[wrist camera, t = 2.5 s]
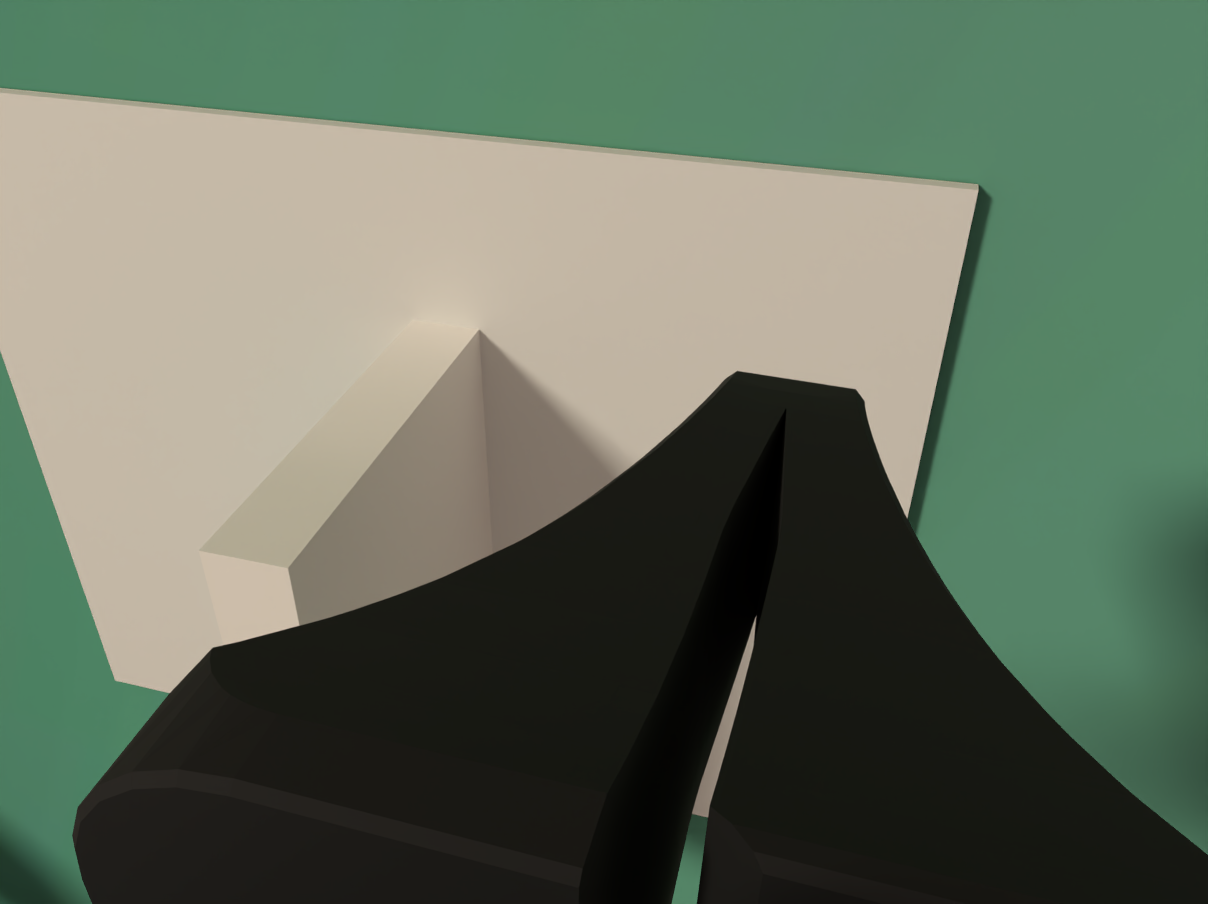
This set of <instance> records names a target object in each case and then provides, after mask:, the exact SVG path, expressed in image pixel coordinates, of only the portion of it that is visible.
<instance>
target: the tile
mask: <svg viewBox="0 0 1208 904" xmlns="http://www.w3.org/2000/svg"><path fill="white" fill-rule="evenodd" d="M199 554H200V558H201V562H202V565H203V569H204V573H205V577H206V581H207V585H208V588H209V592H210V596H211V600H212V604H213V608H214V611H215V615H216V619H217V623H218V627H219V631H220V634H221V638H222V642H223V645H226V644H231V643H235V642H240V641H243V640H247V639H251V638H255V637H258V636H262V635H266V634H270V633H274V632H277V631H281V630H285V629H289V628H292V627H296V626H300V625H304V624H308V623H311V622H315V621H319V620H323V619H326V618H329V617H333V616H336V615H339V614H342V613H345V612H349V611H352V610H355V609H358V608H361V607H364V606H366V605H369V604H372V603H375V602H378V601H381V600H384V599H387V598H390V597H393V596H396V595H398V594H401V593H403V592H406V591H409V590H411V589H414V588H416V587H419V586H421V585H424V584H427V583H429V582H432V581H434V580H437V579H439V578H442V577H444V576H446V575H448V574H451V573H453V572H455V571H457V570H459V569H461V568H463V567H465V566H468V565H470V564H472V563H474V562H476V561H478V560H480V559H482V558H485V557H487V556H489V555H491V554H493V549H492V533H491V516H490V500H489V483H488V467H487V450H486V434H485V417H484V401H483V384H482V368H481V351H480V335H479V329H474V328H467V327H460V326H452V325H445V324H438V323H431V322H424V321H417V320H412V321H411V322H410V323H409V325H408V326H407V327H406V328H405V329H404V330H403V331H402V332H401V333H400V334H399V335H398V336H397V337H396V339H395V340H394V341H393V342H392V343H391V344H390V345H389V346H388V347H387V348H386V349H385V350H384V351H383V353H382V354H381V355H380V356H379V357H378V358H377V359H376V360H375V361H374V362H373V363H372V364H371V365H370V367H369V368H368V369H367V370H366V371H365V372H364V373H363V374H362V375H361V376H360V377H359V378H358V379H357V381H356V382H355V383H354V384H353V385H352V386H351V387H350V388H349V389H348V390H347V391H346V392H345V393H344V395H343V396H342V397H341V398H340V399H339V400H338V401H337V402H336V403H335V404H334V405H333V406H332V407H331V409H330V410H329V411H328V412H327V413H326V414H325V415H324V416H323V417H322V418H321V419H320V420H319V421H318V423H317V424H316V425H315V426H314V427H313V428H312V429H311V430H310V431H309V432H308V433H307V434H306V435H305V437H304V438H303V439H302V440H301V441H300V442H299V443H298V444H297V445H296V446H295V447H294V448H293V449H292V451H291V452H290V453H289V454H288V455H287V456H286V457H285V458H284V459H283V460H282V461H281V462H280V463H279V465H278V466H277V467H276V468H275V469H274V470H273V471H272V472H271V473H270V474H269V475H268V476H267V477H266V479H265V480H264V481H263V482H262V483H261V484H260V485H259V486H258V487H257V488H256V489H255V490H254V491H253V493H252V494H251V495H250V496H249V497H248V498H247V499H246V500H245V501H244V502H243V503H242V504H241V505H240V507H239V508H238V509H237V510H236V511H235V512H234V513H233V514H232V515H231V516H230V517H229V518H228V519H227V521H226V522H225V523H224V524H223V525H222V526H221V527H220V528H219V529H218V530H217V531H216V532H215V534H214V535H213V536H212V537H211V538H210V539H209V540H208V541H207V542H206V543H205V544H204V545H203V546H202V548H201V549H200V550H199Z"/></svg>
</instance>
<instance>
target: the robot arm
mask: <svg viewBox="0 0 1208 904" xmlns="http://www.w3.org/2000/svg"><path fill="white" fill-rule="evenodd" d="M755 618H756V624H755V635H754V646H753V650H752V654H751V658H750V662H749V666H748V670H747V673H746V677H745V681H744V685H743V689H742V693H741V696H740V700H739V704H738V708H737V712H736V715H735V719H734V722H733V726H732V730H731V733H730V737H729V740H728V744H727V747H726V751H725V754H724V758H723V762H722V765H721V769H720V772H719V776H718V779H717V783H716V786H715V789H714V793H713V796H712V799H711V803H710V807H709V814H708V822H707V830H706V838H705V845H704V853H703V861H702V869H701V876H700V884H699V892H698V900H697V904H1208V855H1207V854H1206V853H1205V852H1203V851H1202V850H1201V849H1200V848H1198V847H1197V846H1196V845H1195V844H1193V843H1192V842H1191V841H1190V840H1189V839H1187V838H1186V837H1185V836H1184V835H1182V834H1181V833H1180V832H1179V831H1177V830H1176V829H1175V828H1174V827H1172V826H1171V825H1170V824H1169V823H1167V822H1166V821H1165V820H1164V819H1162V818H1161V817H1160V816H1159V815H1158V814H1156V813H1155V812H1154V811H1153V810H1151V809H1150V808H1149V807H1148V806H1146V805H1145V804H1144V803H1143V802H1141V801H1140V800H1139V799H1138V798H1136V797H1135V796H1134V795H1133V794H1132V793H1131V792H1130V791H1128V790H1127V789H1126V788H1125V787H1124V786H1123V785H1122V784H1121V783H1120V782H1118V781H1117V780H1116V779H1115V778H1114V777H1113V776H1112V775H1111V774H1110V773H1109V772H1108V771H1107V770H1106V769H1105V768H1103V767H1102V766H1101V765H1100V764H1099V763H1098V762H1097V761H1096V760H1095V759H1094V758H1093V757H1092V756H1091V755H1090V754H1088V753H1087V752H1086V751H1085V750H1084V749H1083V748H1082V747H1081V746H1080V745H1079V744H1078V743H1077V742H1076V741H1075V740H1074V739H1072V738H1071V737H1070V736H1069V735H1068V734H1067V733H1066V732H1065V731H1064V730H1063V729H1062V728H1061V727H1060V725H1059V724H1058V723H1057V722H1056V721H1055V720H1054V719H1053V718H1052V717H1051V716H1050V715H1049V714H1048V713H1047V712H1046V711H1045V710H1044V709H1043V708H1042V707H1041V706H1040V704H1039V703H1038V702H1037V701H1036V700H1035V699H1034V698H1033V697H1032V696H1031V694H1030V693H1029V692H1028V691H1027V690H1026V689H1025V688H1024V687H1023V686H1022V684H1021V683H1020V682H1019V681H1018V680H1017V679H1016V678H1015V677H1014V676H1013V675H1012V673H1011V672H1010V671H1009V670H1008V669H1007V668H1006V667H1005V666H1004V665H1003V663H1002V662H1001V661H1000V660H999V659H998V657H997V656H996V655H995V653H994V652H993V651H992V650H991V648H990V647H989V646H988V645H987V643H986V642H985V641H984V640H983V638H982V637H981V636H980V634H979V633H978V632H977V630H976V629H975V627H974V626H973V625H972V623H971V622H970V620H969V619H968V618H967V616H966V615H965V614H964V612H963V611H962V609H961V608H960V607H959V605H958V604H957V602H956V601H955V599H954V598H953V596H952V595H951V593H950V592H949V590H948V589H947V587H946V586H945V584H944V582H943V581H942V579H941V578H940V576H939V574H938V573H937V571H936V569H935V568H934V566H933V564H932V563H931V561H930V559H929V557H928V556H927V554H926V552H925V550H924V549H923V547H922V545H921V543H920V542H919V540H918V538H917V536H916V535H915V533H914V531H913V529H912V527H911V525H910V523H909V521H908V519H907V517H906V515H905V513H904V511H903V509H902V507H901V504H900V502H899V500H898V498H897V496H896V494H895V491H894V489H893V487H892V485H891V483H890V481H889V478H888V476H887V474H886V471H885V469H884V466H883V464H882V461H881V459H880V456H879V453H878V450H877V448H876V445H875V442H874V439H873V436H872V433H871V429H870V426H869V422H868V418H867V414H866V409H865V401H864V399H863V398H862V397H861V395H860V394H859V393H858V391H857V390H856V389H852V388H845V387H839V386H832V385H826V384H819V383H813V382H806V381H800V380H793V379H787V378H780V377H774V376H767V375H761V374H754V373H748V372H741V371H736V372H735V373H733V374H732V375H730V376H729V377H727V378H726V379H725V380H724V381H723V382H722V383H721V384H720V385H719V386H718V387H717V388H716V389H715V390H714V391H713V393H712V394H711V395H710V396H709V397H708V398H707V399H706V400H705V401H704V402H703V403H702V404H701V405H700V406H699V407H698V408H697V409H696V410H695V411H694V412H693V413H692V414H690V415H689V416H688V417H687V418H686V419H685V420H684V421H683V422H682V423H681V424H680V425H679V426H678V427H677V428H676V429H674V430H673V431H672V432H671V433H670V434H669V435H668V436H666V437H665V438H664V439H663V440H662V441H661V442H659V443H658V444H657V445H656V446H655V447H654V448H653V449H651V450H650V451H649V452H648V453H647V454H646V455H645V456H643V457H642V458H641V459H640V460H638V461H637V462H636V463H635V464H634V465H632V466H631V467H630V468H628V469H627V470H626V471H624V472H623V473H622V474H620V475H619V476H618V477H616V478H615V479H614V480H612V481H611V482H610V483H608V484H607V485H606V486H604V487H603V488H602V489H600V490H599V491H598V492H596V493H595V494H594V495H592V496H591V497H589V498H588V499H587V500H585V501H584V502H582V503H581V504H579V505H578V506H576V507H575V508H573V509H572V510H570V511H569V512H567V513H566V514H564V515H563V516H561V517H559V518H558V519H556V520H555V521H553V522H551V523H550V524H548V525H546V526H545V527H543V528H541V529H540V530H538V531H536V532H534V533H533V534H531V535H529V536H528V537H526V538H524V539H522V540H520V541H518V542H516V543H514V544H512V545H510V546H508V547H506V548H504V549H502V550H499V551H497V552H495V553H493V554H491V555H489V556H487V557H485V558H482V559H480V560H478V561H476V562H474V563H472V564H470V565H468V566H465V567H463V568H461V569H459V570H457V571H455V572H453V573H451V574H448V575H446V576H444V577H442V578H439V579H437V580H434V581H432V582H429V583H427V584H424V585H421V586H419V587H416V588H414V589H411V590H409V591H406V592H403V593H401V594H398V595H396V596H393V597H390V598H387V599H384V600H381V601H378V602H375V603H372V604H369V605H366V606H364V607H361V608H358V609H355V610H352V611H349V612H345V613H342V614H339V615H336V616H333V617H329V618H326V619H323V620H319V621H315V622H311V623H308V624H304V625H300V626H296V627H292V628H289V629H285V630H281V631H277V632H274V633H270V634H266V635H262V636H258V637H255V638H251V639H247V640H243V641H240V642H235V643H231V644H226V645H222V646H218V647H213V648H212V649H211V650H210V651H209V652H208V653H207V654H206V655H205V656H204V657H203V658H202V660H201V661H200V662H199V663H198V664H197V665H196V666H195V667H194V668H193V669H192V670H191V671H190V672H189V673H188V674H187V675H186V676H185V677H184V679H183V680H182V681H181V682H180V683H179V684H178V685H177V686H176V687H175V688H174V689H173V690H172V691H171V692H170V694H169V695H168V696H167V697H166V699H165V700H164V701H163V702H162V704H161V705H160V706H159V707H158V709H157V710H156V711H155V712H154V714H153V715H152V716H151V717H150V719H149V720H148V721H147V722H146V723H145V725H144V726H143V727H142V728H141V730H140V731H139V732H138V733H137V735H136V736H135V737H134V738H133V740H132V741H131V742H130V743H129V745H128V746H127V747H126V748H125V749H124V751H123V752H122V753H121V754H120V756H119V757H118V758H117V759H116V761H115V762H114V763H113V764H112V766H111V767H110V768H109V769H108V770H107V772H106V773H105V774H104V775H103V777H102V778H101V779H100V780H99V782H98V783H97V784H96V785H95V787H94V788H93V789H92V790H91V792H90V793H89V794H88V795H87V796H86V798H85V799H84V800H83V801H82V803H81V804H80V805H79V806H78V809H77V814H76V819H75V825H74V830H73V835H72V836H73V841H74V847H75V851H76V855H77V860H78V864H79V868H80V872H81V876H82V880H83V882H84V885H85V887H86V890H87V892H88V894H89V897H90V899H91V902H92V904H671V903H672V898H673V894H674V889H675V885H676V880H677V876H678V871H679V867H680V862H681V858H682V853H683V849H684V844H685V840H686V835H687V831H688V826H689V822H690V819H691V815H692V812H693V808H694V805H695V801H696V797H697V794H698V790H699V787H700V783H701V780H702V777H703V774H704V771H705V768H706V765H707V762H708V759H709V756H710V753H711V750H712V747H713V744H714V741H715V738H716V735H717V732H718V729H719V726H720V723H721V720H722V717H723V714H724V711H725V708H726V705H727V702H728V699H729V696H730V693H731V690H732V687H733V684H734V681H735V678H736V675H737V672H738V669H739V666H740V663H741V660H742V657H743V654H744V651H745V648H746V645H747V642H748V639H749V636H750V633H751V630H752V627H753V624H754V621H755Z"/></svg>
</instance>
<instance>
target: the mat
mask: <svg viewBox="0 0 1208 904" xmlns="http://www.w3.org/2000/svg"><path fill="white" fill-rule="evenodd" d="M978 191H979V189H978V184H970V183H960V182H950V181H940V180H930V179H920V178H909V177H899V176H889V175H879V174H869V173H859V172H848V171H838V170H828V169H818V168H808V167H798V166H788V165H777V164H767V163H757V162H747V161H737V160H727V159H716V158H706V157H696V156H686V155H676V154H666V153H656V152H645V151H635V150H625V149H615V148H605V147H595V146H585V145H574V144H564V143H554V142H544V141H534V140H524V139H513V138H503V137H493V136H483V135H473V134H463V133H453V132H442V131H432V130H422V129H412V128H402V127H392V126H381V125H371V124H361V123H351V122H341V121H331V120H321V119H310V118H300V117H290V116H280V115H270V114H260V113H249V112H239V111H229V110H219V109H209V108H199V107H189V106H178V105H168V104H158V103H148V102H138V101H128V100H117V99H107V98H97V97H87V96H77V95H67V94H57V93H46V92H36V91H26V90H16V89H6V88H0V351H1V354H2V357H3V359H4V362H5V365H6V368H7V371H8V374H9V377H10V380H11V382H12V385H13V388H14V391H15V394H16V397H17V400H18V403H19V405H20V408H21V411H22V414H23V417H24V420H25V423H26V426H27V428H28V431H29V434H30V437H31V440H32V443H33V446H34V448H35V451H36V454H37V457H38V460H39V463H40V466H41V469H42V471H43V474H44V477H45V480H46V483H47V486H48V489H49V492H50V494H51V497H52V500H53V503H54V506H55V509H56V512H57V515H58V517H59V520H60V523H61V526H62V529H63V532H64V535H65V538H66V540H67V543H68V546H69V549H70V552H71V555H72V558H73V561H74V563H75V566H76V569H77V572H78V575H79V578H80V581H81V583H82V586H83V589H84V592H85V595H86V598H87V601H88V604H89V606H90V609H91V612H92V615H93V618H94V621H95V624H96V627H97V629H98V632H99V635H100V638H101V641H102V644H103V647H104V650H105V652H106V655H107V658H108V661H109V664H110V667H111V670H112V673H113V675H114V678H115V680H116V681H120V682H124V683H129V684H133V685H137V686H141V687H146V688H150V689H154V690H159V691H163V692H167V693H170V692H171V691H172V690H173V689H174V688H175V687H176V686H177V685H178V684H179V683H180V682H181V681H182V680H183V679H184V677H185V676H186V675H187V674H188V673H189V672H190V671H191V670H192V669H193V668H194V667H195V666H196V665H197V664H198V663H199V662H200V661H201V660H202V658H203V657H204V656H205V655H206V654H207V653H208V652H209V651H210V650H211V649H212V648H213V647H218V646H222V645H223V642H222V638H221V634H220V631H219V627H218V623H217V619H216V615H215V611H214V608H213V604H212V600H211V596H210V592H209V588H208V585H207V581H206V577H205V573H204V569H203V565H202V562H201V558H200V554H199V550H200V549H201V548H202V546H203V545H204V544H205V543H206V542H207V541H208V540H209V539H210V538H211V537H212V536H213V535H214V534H215V532H216V531H217V530H218V529H219V528H220V527H221V526H222V525H223V524H224V523H225V522H226V521H227V519H228V518H229V517H230V516H231V515H232V514H233V513H234V512H235V511H236V510H237V509H238V508H239V507H240V505H241V504H242V503H243V502H244V501H245V500H246V499H247V498H248V497H249V496H250V495H251V494H252V493H253V491H254V490H255V489H256V488H257V487H258V486H259V485H260V484H261V483H262V482H263V481H264V480H265V479H266V477H267V476H268V475H269V474H270V473H271V472H272V471H273V470H274V469H275V468H276V467H277V466H278V465H279V463H280V462H281V461H282V460H283V459H284V458H285V457H286V456H287V455H288V454H289V453H290V452H291V451H292V449H293V448H294V447H295V446H296V445H297V444H298V443H299V442H300V441H301V440H302V439H303V438H304V437H305V435H306V434H307V433H308V432H309V431H310V430H311V429H312V428H313V427H314V426H315V425H316V424H317V423H318V421H319V420H320V419H321V418H322V417H323V416H324V415H325V414H326V413H327V412H328V411H329V410H330V409H331V407H332V406H333V405H334V404H335V403H336V402H337V401H338V400H339V399H340V398H341V397H342V396H343V395H344V393H345V392H346V391H347V390H348V389H349V388H350V387H351V386H352V385H353V384H354V383H355V382H356V381H357V379H358V378H359V377H360V376H361V375H362V374H363V373H364V372H365V371H366V370H367V369H368V368H369V367H370V365H371V364H372V363H373V362H374V361H375V360H376V359H377V358H378V357H379V356H380V355H381V354H382V353H383V351H384V350H385V349H386V348H387V347H388V346H389V345H390V344H391V343H392V342H393V341H394V340H395V339H396V337H397V336H398V335H399V334H400V333H401V332H402V331H403V330H404V329H405V328H406V327H407V326H408V325H409V323H410V322H411V321H412V320H417V321H424V322H431V323H438V324H445V325H452V326H460V327H467V328H474V329H479V335H480V351H481V368H482V384H483V401H484V417H485V434H486V450H487V467H488V483H489V500H490V516H491V533H492V549H493V553H495V552H497V551H499V550H502V549H504V548H506V547H508V546H510V545H512V544H514V543H516V542H518V541H520V540H522V539H524V538H526V537H528V536H529V535H531V534H533V533H534V532H536V531H538V530H540V529H541V528H543V527H545V526H546V525H548V524H550V523H551V522H553V521H555V520H556V519H558V518H559V517H561V516H563V515H564V514H566V513H567V512H569V511H570V510H572V509H573V508H575V507H576V506H578V505H579V504H581V503H582V502H584V501H585V500H587V499H588V498H589V497H591V496H592V495H594V494H595V493H596V492H598V491H599V490H600V489H602V488H603V487H604V486H606V485H607V484H608V483H610V482H611V481H612V480H614V479H615V478H616V477H618V476H619V475H620V474H622V473H623V472H624V471H626V470H627V469H628V468H630V467H631V466H632V465H634V464H635V463H636V462H637V461H638V460H640V459H641V458H642V457H643V456H645V455H646V454H647V453H648V452H649V451H650V450H651V449H653V448H654V447H655V446H656V445H657V444H658V443H659V442H661V441H662V440H663V439H664V438H665V437H666V436H668V435H669V434H670V433H671V432H672V431H673V430H674V429H676V428H677V427H678V426H679V425H680V424H681V423H682V422H683V421H684V420H685V419H686V418H687V417H688V416H689V415H690V414H692V413H693V412H694V411H695V410H696V409H697V408H698V407H699V406H700V405H701V404H702V403H703V402H704V401H705V400H706V399H707V398H708V397H709V396H710V395H711V394H712V393H713V391H714V390H715V389H716V388H717V387H718V386H719V385H720V384H721V383H722V382H723V381H724V380H725V379H726V378H727V377H729V376H730V375H732V374H733V373H735V372H736V371H741V372H748V373H754V374H761V375H767V376H774V377H780V378H787V379H793V380H800V381H806V382H813V383H819V384H826V385H832V386H839V387H845V388H852V389H856V390H857V391H858V393H859V394H860V395H861V397H862V398H863V399H864V401H865V409H866V414H867V418H868V422H869V426H870V429H871V433H872V436H873V439H874V442H875V445H876V448H877V450H878V453H879V456H880V459H881V461H882V464H883V466H884V469H885V471H886V474H887V476H888V478H889V481H890V483H891V485H892V487H893V489H894V491H895V494H896V496H897V498H898V500H899V502H900V504H901V507H902V509H903V511H904V513H905V515H906V517H907V518H908V513H909V509H910V504H911V499H912V495H913V490H914V486H915V481H916V476H917V472H918V467H919V463H920V458H921V453H922V449H923V444H924V439H925V435H926V430H927V426H928V421H929V416H930V412H931V407H932V403H933V398H934V393H935V389H936V384H937V380H938V375H939V370H940V366H941V361H942V357H943V352H944V347H945V343H946V338H947V333H948V329H949V324H950V320H951V315H952V310H953V306H954V301H955V297H956V292H957V287H958V283H959V278H960V274H961V269H962V264H963V260H964V255H965V251H966V246H967V241H968V237H969V232H970V227H971V223H972V218H973V214H974V209H975V204H976V200H977V195H978ZM755 624H756V618H755V621H754V624H753V627H752V630H751V633H750V636H749V639H748V642H747V645H746V648H745V651H744V654H743V657H742V660H741V663H740V666H739V669H738V672H737V675H736V678H735V681H734V684H733V687H732V690H731V693H730V696H729V699H728V702H727V705H726V708H725V711H724V714H723V717H722V720H721V723H720V726H719V729H718V732H717V735H716V738H715V741H714V744H713V747H712V750H711V753H710V756H709V759H708V762H707V765H706V768H705V771H704V774H703V777H702V780H701V783H700V787H699V790H698V794H697V797H696V801H695V805H694V808H693V812H692V814H695V815H699V816H703V817H708V814H709V807H710V803H711V799H712V796H713V793H714V789H715V786H716V783H717V779H718V776H719V772H720V769H721V765H722V762H723V758H724V754H725V751H726V747H727V744H728V740H729V737H730V733H731V730H732V726H733V722H734V719H735V715H736V712H737V708H738V704H739V700H740V696H741V693H742V689H743V685H744V681H745V677H746V673H747V670H748V666H749V662H750V658H751V654H752V650H753V646H754V635H755Z"/></svg>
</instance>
